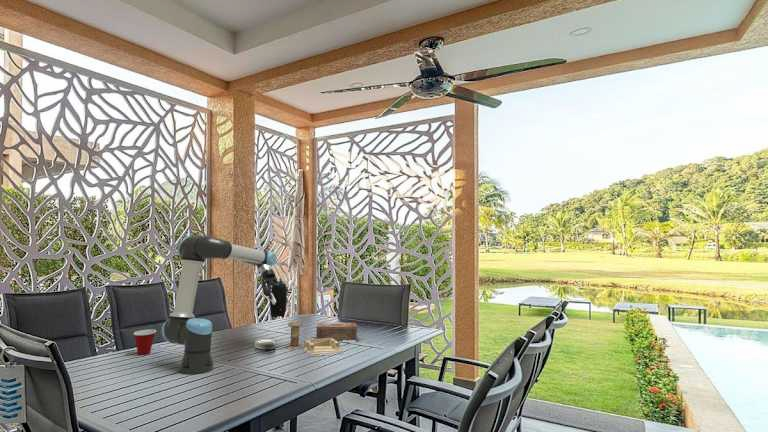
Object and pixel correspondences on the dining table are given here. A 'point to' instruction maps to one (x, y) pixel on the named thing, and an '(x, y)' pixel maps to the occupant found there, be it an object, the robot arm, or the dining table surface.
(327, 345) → the amber glass ashtray
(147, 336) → the plastic cup
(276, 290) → the portable speaker
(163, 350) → the dining table surface
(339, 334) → the tissue box cover
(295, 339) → the bobbin
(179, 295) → the robot arm
